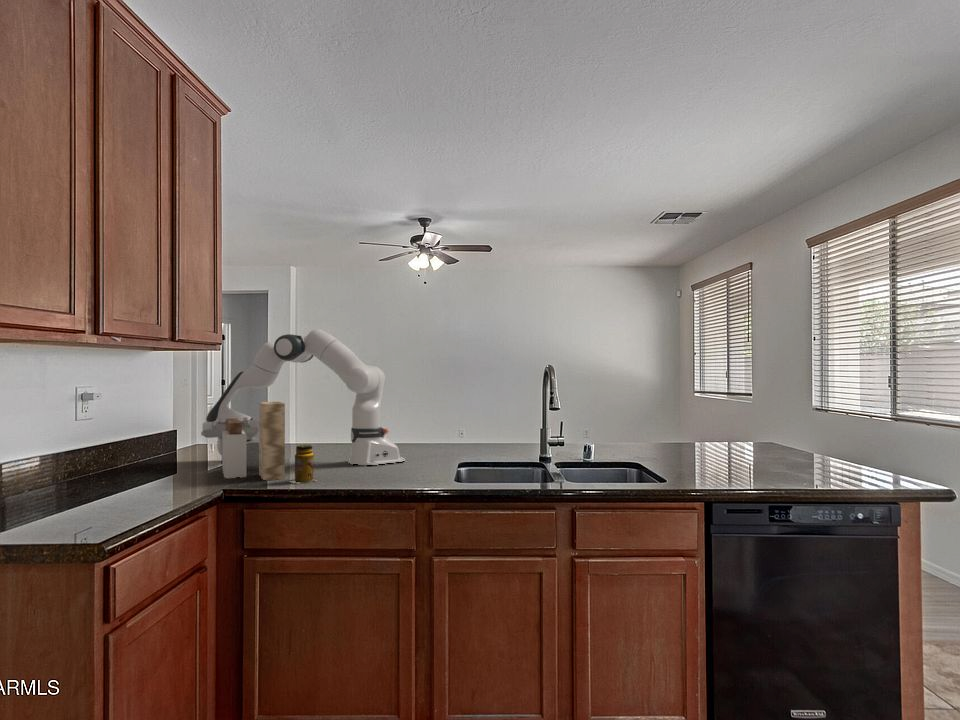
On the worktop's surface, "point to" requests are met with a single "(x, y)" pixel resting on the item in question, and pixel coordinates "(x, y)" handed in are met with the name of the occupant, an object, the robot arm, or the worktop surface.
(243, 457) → the step
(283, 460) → the stand
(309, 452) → the condiment
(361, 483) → the worktop surface
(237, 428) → the bar
